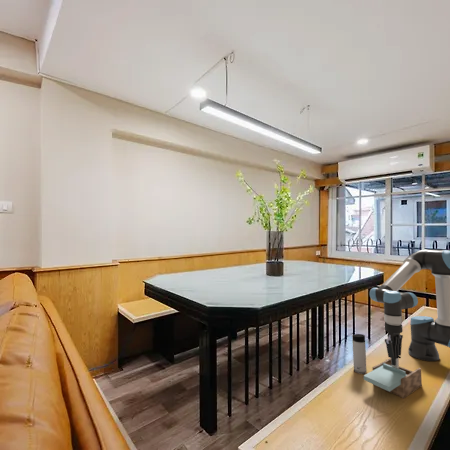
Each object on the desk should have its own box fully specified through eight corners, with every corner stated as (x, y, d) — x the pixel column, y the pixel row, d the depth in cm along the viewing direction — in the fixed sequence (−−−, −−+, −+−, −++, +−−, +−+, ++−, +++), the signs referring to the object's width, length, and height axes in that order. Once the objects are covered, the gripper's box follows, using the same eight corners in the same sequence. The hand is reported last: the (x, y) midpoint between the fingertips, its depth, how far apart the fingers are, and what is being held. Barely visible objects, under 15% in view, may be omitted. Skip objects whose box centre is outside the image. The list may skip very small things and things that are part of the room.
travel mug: (360, 375, 145) (358, 337, 145) (351, 369, 151) (349, 333, 152) (369, 373, 146) (368, 335, 147) (360, 367, 153) (359, 331, 153)
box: (391, 373, 145) (391, 357, 145) (421, 385, 133) (420, 368, 134) (373, 384, 136) (372, 367, 136) (403, 398, 124) (402, 379, 124)
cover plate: (382, 369, 138) (382, 362, 139) (408, 379, 128) (407, 372, 129) (363, 379, 129) (363, 372, 130) (389, 391, 119) (389, 383, 120)
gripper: (392, 318, 141) (394, 364, 141) (378, 323, 134) (380, 371, 134) (407, 322, 135) (410, 370, 134) (394, 327, 128) (396, 378, 127)
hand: (395, 371), depth 134 cm, fingers closed
